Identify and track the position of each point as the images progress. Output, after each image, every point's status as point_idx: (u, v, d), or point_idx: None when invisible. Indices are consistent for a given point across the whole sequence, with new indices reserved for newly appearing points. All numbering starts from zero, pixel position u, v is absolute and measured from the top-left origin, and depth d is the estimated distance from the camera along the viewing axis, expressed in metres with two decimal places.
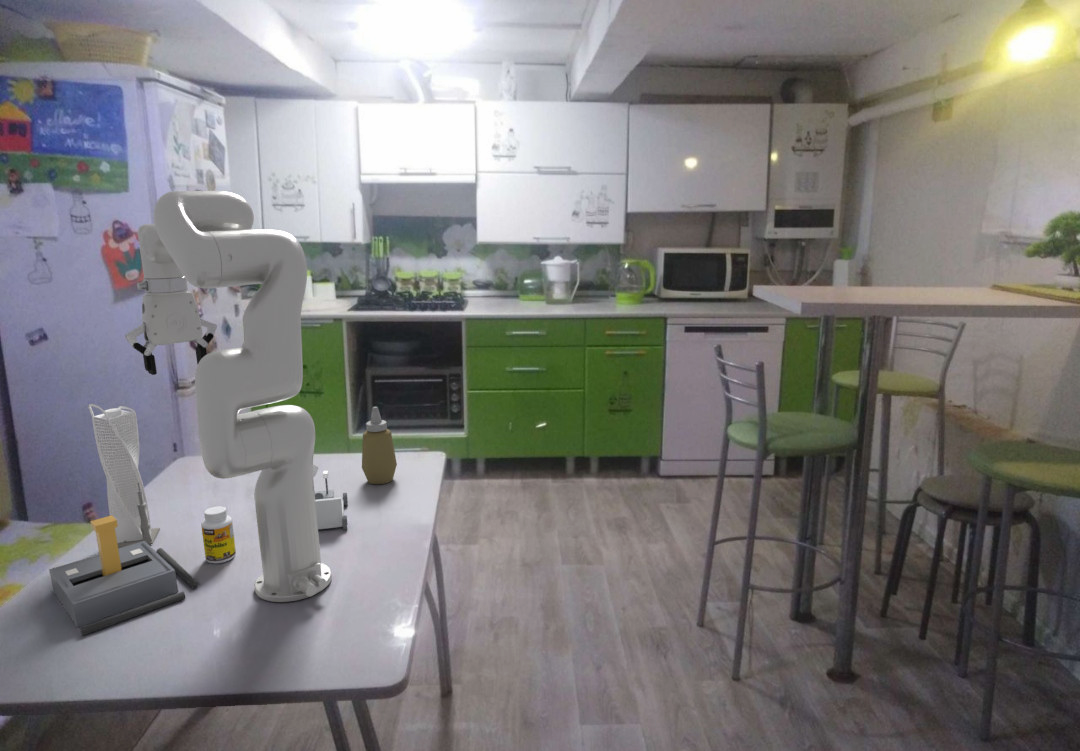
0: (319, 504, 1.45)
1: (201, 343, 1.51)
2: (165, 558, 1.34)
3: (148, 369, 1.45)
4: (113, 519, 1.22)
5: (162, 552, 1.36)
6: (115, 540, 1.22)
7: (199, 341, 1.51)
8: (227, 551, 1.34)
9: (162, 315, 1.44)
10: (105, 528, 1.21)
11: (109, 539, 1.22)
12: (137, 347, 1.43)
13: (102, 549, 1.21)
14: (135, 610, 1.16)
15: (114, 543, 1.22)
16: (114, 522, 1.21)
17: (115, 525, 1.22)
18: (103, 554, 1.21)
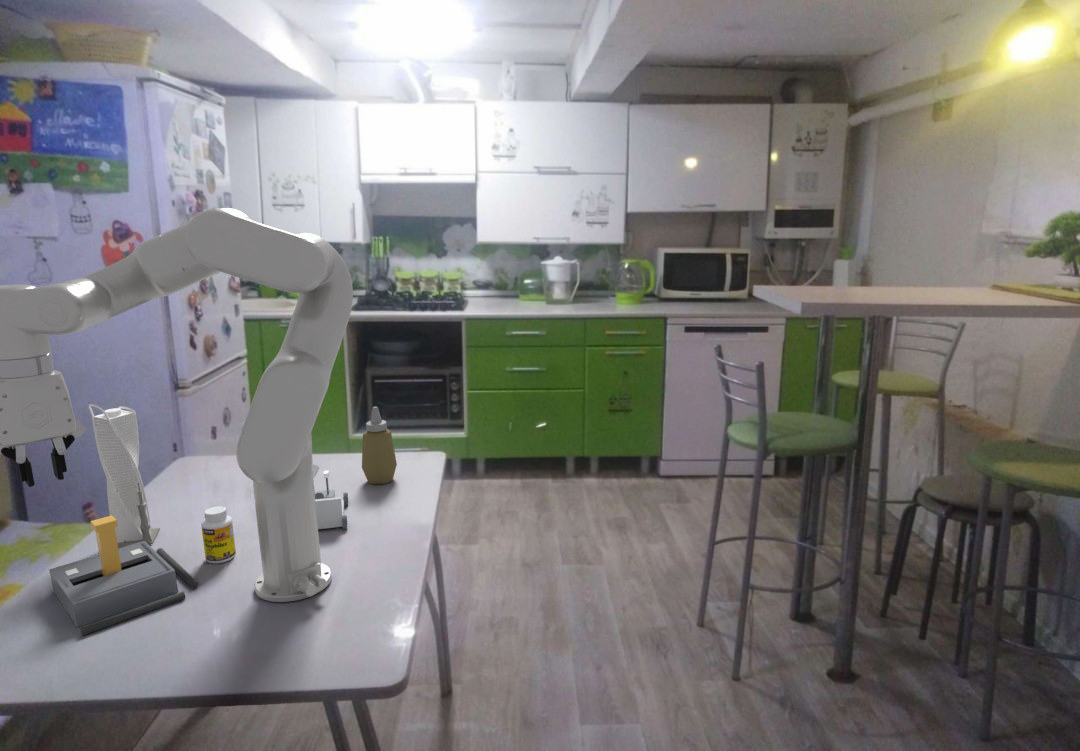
0: (319, 504, 1.45)
1: (58, 447, 1.14)
2: (165, 558, 1.34)
3: (23, 480, 1.12)
4: (113, 519, 1.22)
5: (162, 552, 1.36)
6: (115, 540, 1.22)
7: (57, 444, 1.14)
8: (227, 551, 1.34)
9: (16, 407, 1.08)
10: (105, 528, 1.21)
11: (109, 539, 1.22)
12: (6, 453, 1.10)
13: (102, 549, 1.21)
14: (135, 610, 1.16)
15: (114, 543, 1.22)
16: (114, 522, 1.21)
17: (115, 525, 1.22)
18: (103, 554, 1.21)
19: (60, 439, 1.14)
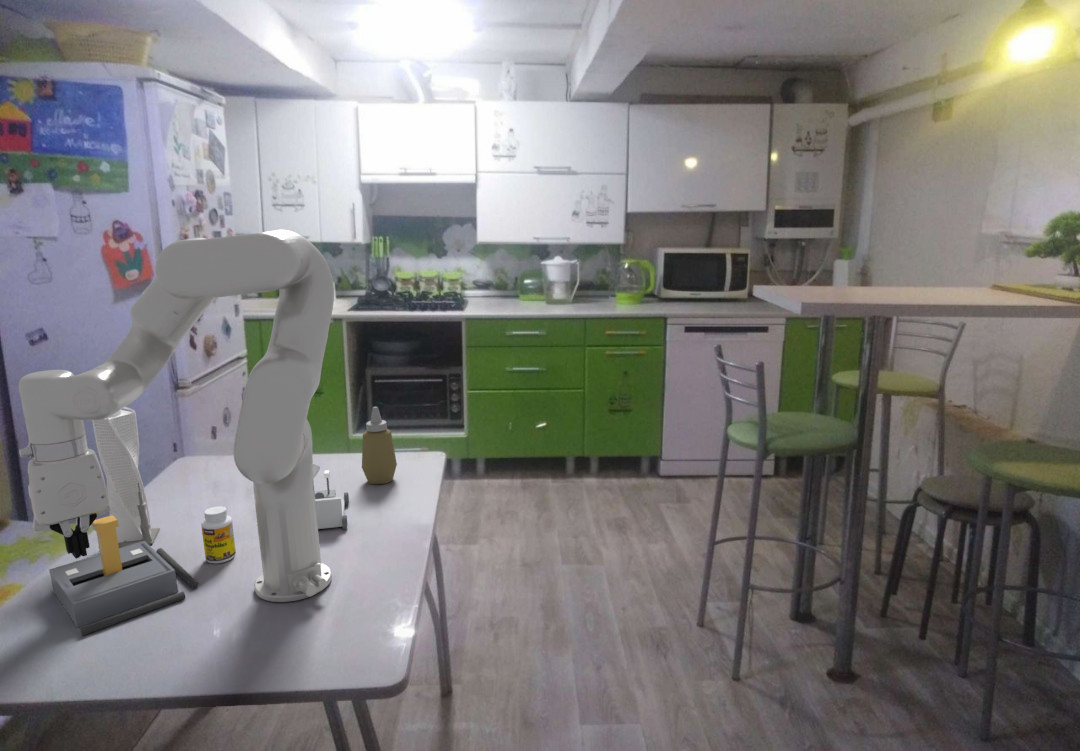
0: (319, 504, 1.45)
1: (82, 524, 1.18)
2: (165, 558, 1.34)
3: (70, 552, 1.18)
4: (114, 519, 1.22)
5: (162, 552, 1.36)
6: (116, 540, 1.22)
7: (83, 521, 1.18)
8: (227, 551, 1.34)
9: (53, 488, 1.13)
10: (106, 528, 1.21)
11: (110, 539, 1.22)
12: (55, 528, 1.16)
13: (103, 549, 1.21)
14: (135, 610, 1.16)
15: (115, 543, 1.22)
16: (115, 522, 1.22)
17: (116, 525, 1.22)
18: (104, 554, 1.21)
19: (87, 517, 1.18)
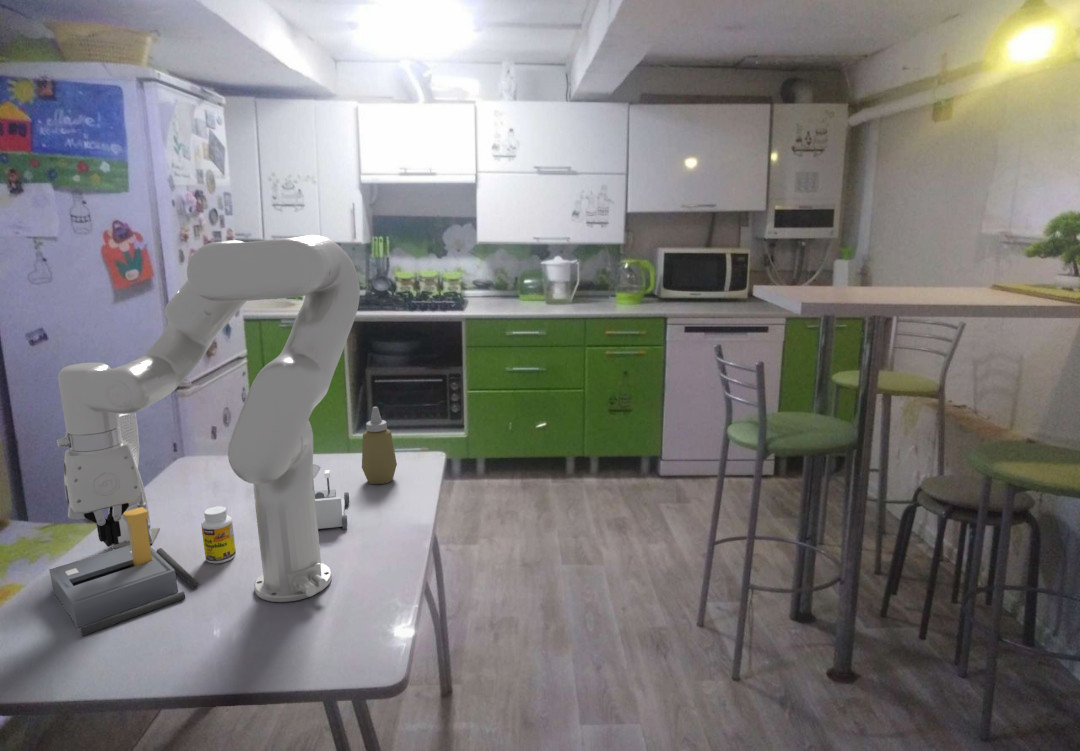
0: (319, 504, 1.45)
1: (115, 513, 1.21)
2: (165, 558, 1.34)
3: (102, 540, 1.21)
4: (144, 510, 1.25)
5: (162, 552, 1.36)
6: (146, 531, 1.26)
7: (115, 510, 1.21)
8: (227, 551, 1.34)
9: (89, 477, 1.16)
10: (137, 519, 1.24)
11: (140, 530, 1.25)
12: (89, 517, 1.19)
13: (134, 540, 1.24)
14: (135, 610, 1.16)
15: (145, 534, 1.25)
16: (145, 513, 1.25)
17: (146, 516, 1.25)
18: (134, 544, 1.25)
19: (119, 506, 1.22)
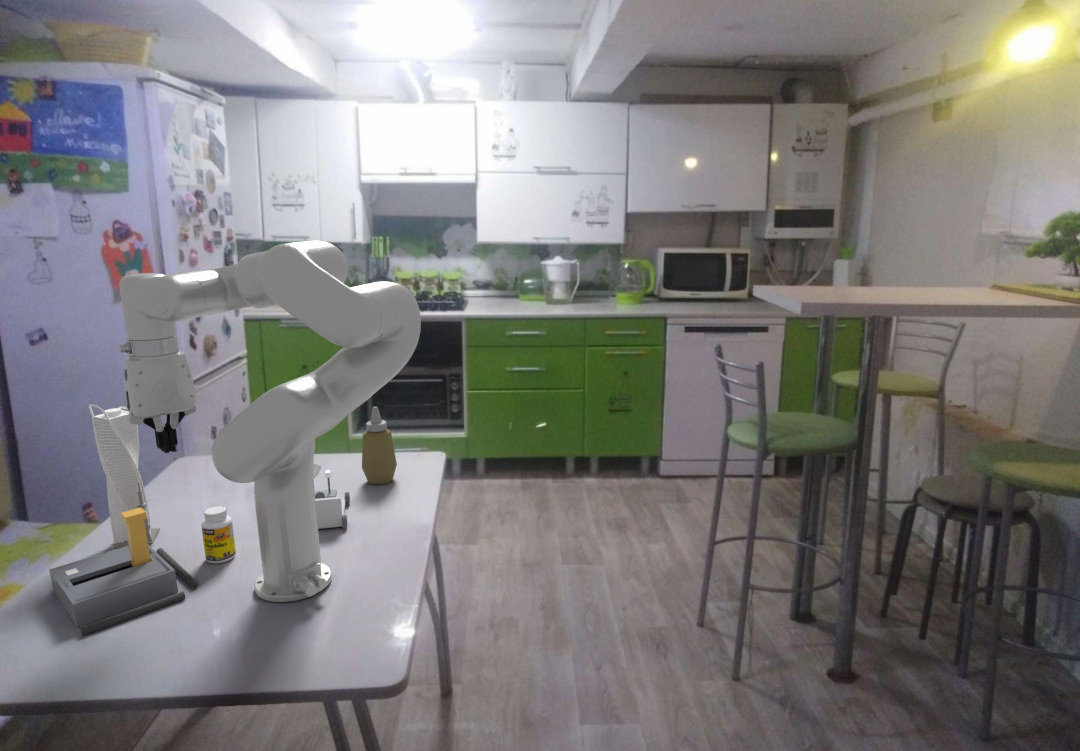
0: (319, 503, 1.45)
1: (172, 421, 1.26)
2: (165, 558, 1.34)
3: (160, 447, 1.26)
4: (142, 511, 1.25)
5: (162, 552, 1.36)
6: (144, 531, 1.25)
7: (173, 418, 1.26)
8: (227, 551, 1.34)
9: (149, 382, 1.21)
10: (135, 520, 1.24)
11: (138, 530, 1.25)
12: (148, 423, 1.23)
13: (132, 540, 1.24)
14: (135, 610, 1.16)
15: (143, 534, 1.25)
16: (143, 514, 1.25)
17: (144, 517, 1.25)
18: (133, 545, 1.24)
19: (176, 414, 1.26)
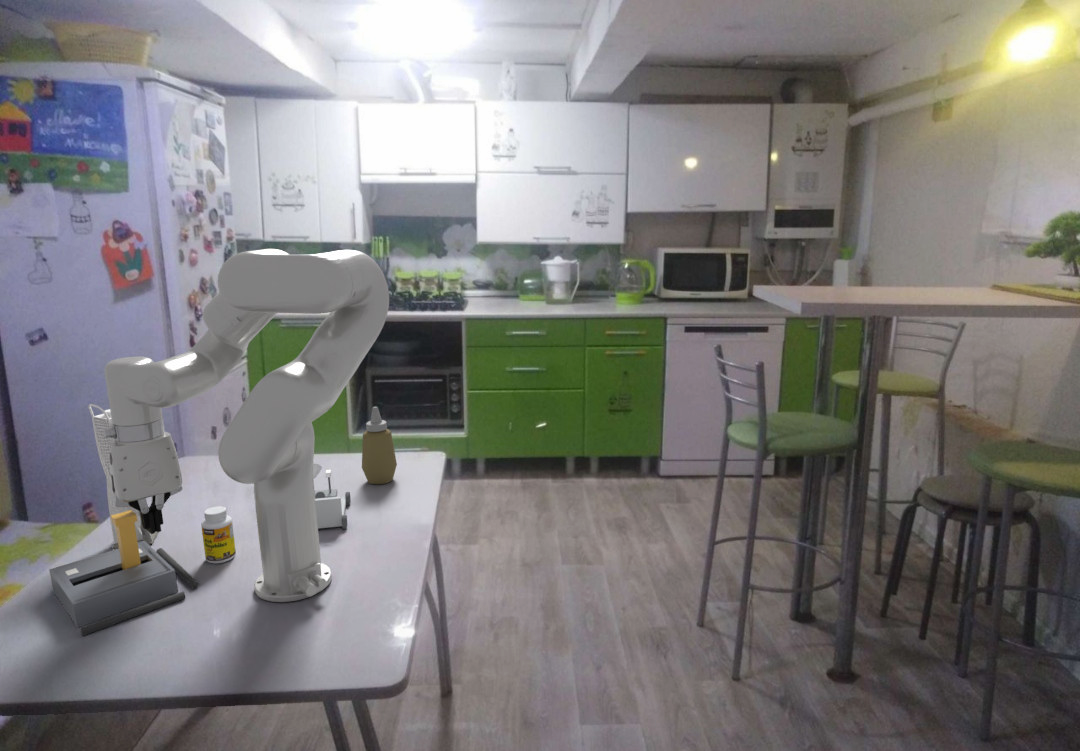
0: (318, 503, 1.45)
1: (158, 502, 1.26)
2: (165, 558, 1.34)
3: (146, 528, 1.26)
4: (133, 514, 1.24)
5: (162, 552, 1.36)
6: (134, 534, 1.24)
7: (158, 499, 1.26)
8: (227, 551, 1.34)
9: (133, 467, 1.21)
10: (125, 522, 1.23)
11: (129, 533, 1.24)
12: (133, 505, 1.24)
13: (122, 543, 1.23)
14: (135, 610, 1.16)
15: (133, 537, 1.24)
16: (134, 517, 1.23)
17: (135, 519, 1.24)
18: (123, 548, 1.23)
19: (162, 495, 1.26)
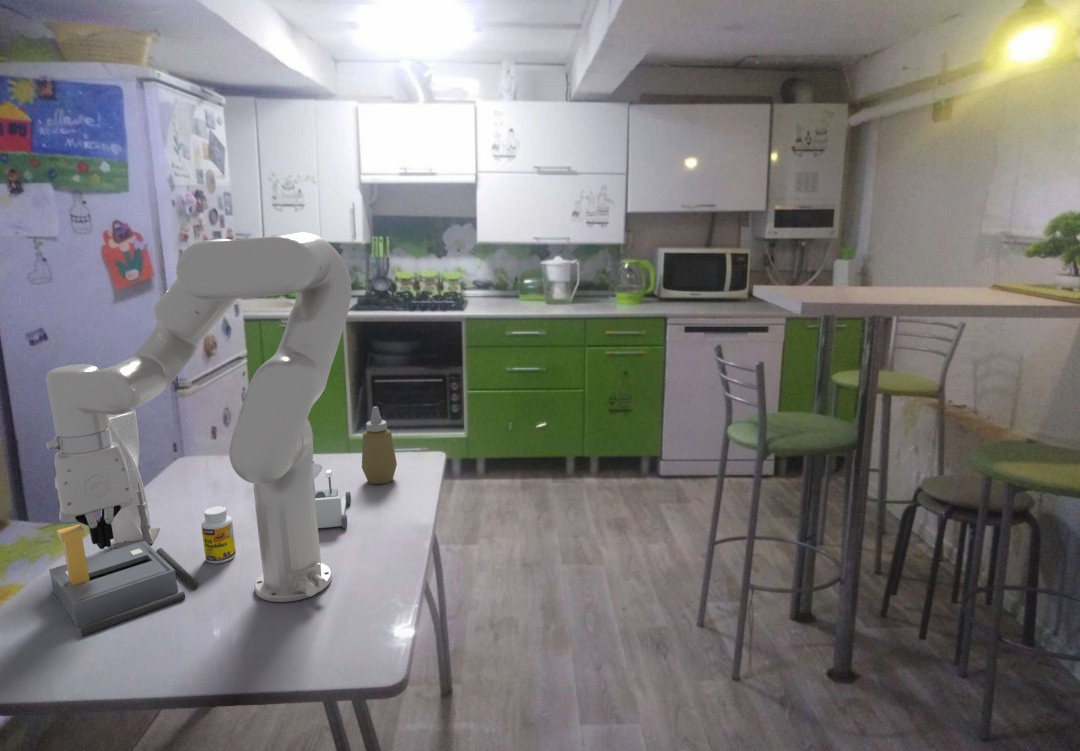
0: (318, 503, 1.45)
1: (107, 516, 1.21)
2: (165, 558, 1.34)
3: (95, 543, 1.21)
4: (80, 528, 1.19)
5: (162, 552, 1.36)
6: (82, 550, 1.19)
7: (107, 512, 1.21)
8: (227, 551, 1.34)
9: (79, 480, 1.16)
10: (72, 537, 1.17)
11: (76, 549, 1.18)
12: (80, 519, 1.18)
13: (69, 559, 1.18)
14: (135, 610, 1.16)
15: (81, 553, 1.19)
16: (81, 531, 1.18)
17: (82, 534, 1.18)
18: (70, 564, 1.18)
19: (111, 509, 1.21)
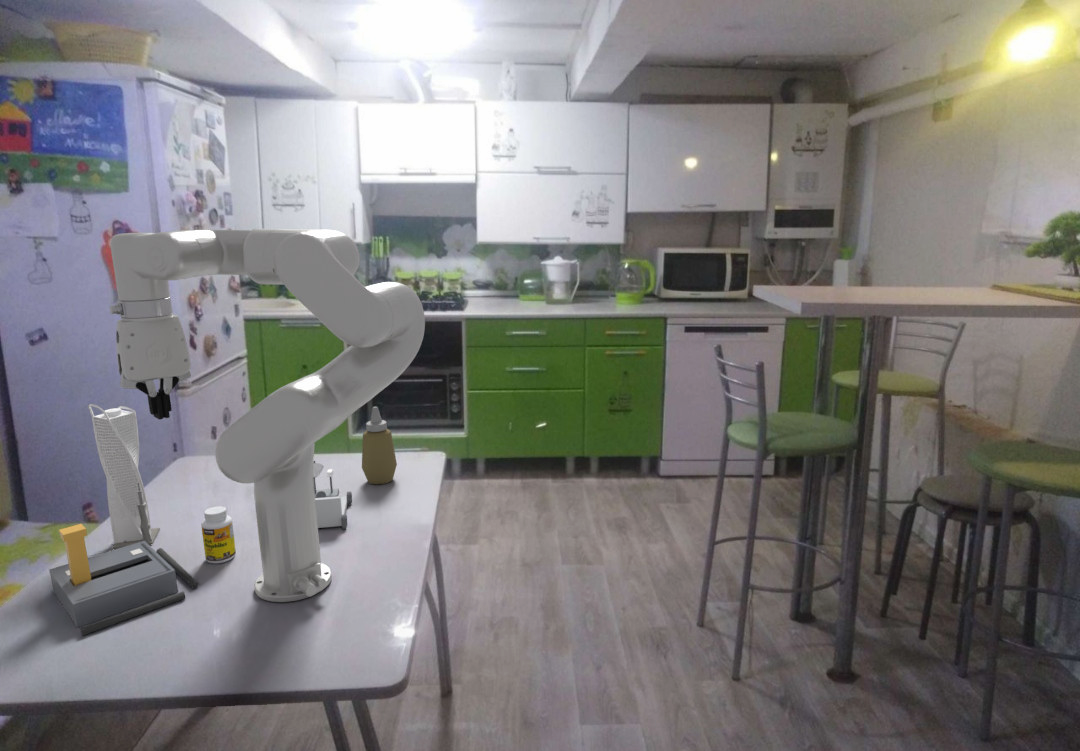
0: (318, 503, 1.45)
1: (166, 386, 1.22)
2: (165, 558, 1.34)
3: (154, 413, 1.22)
4: (82, 528, 1.19)
5: (162, 552, 1.36)
6: (84, 549, 1.19)
7: (166, 383, 1.22)
8: (227, 551, 1.34)
9: (141, 345, 1.17)
10: (74, 537, 1.18)
11: (78, 548, 1.18)
12: (141, 387, 1.20)
13: (71, 558, 1.18)
14: (135, 610, 1.16)
15: (83, 552, 1.19)
16: (83, 531, 1.18)
17: (84, 534, 1.19)
18: (72, 563, 1.18)
19: (170, 379, 1.22)
